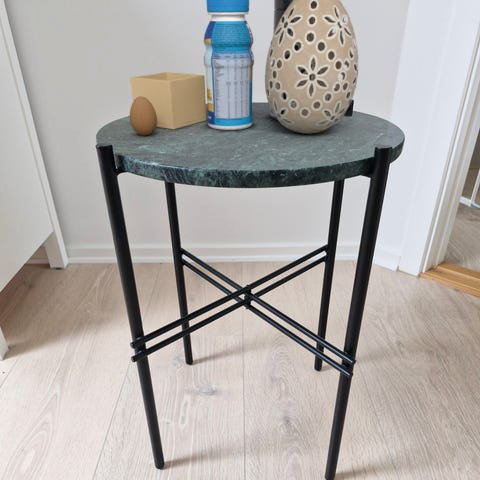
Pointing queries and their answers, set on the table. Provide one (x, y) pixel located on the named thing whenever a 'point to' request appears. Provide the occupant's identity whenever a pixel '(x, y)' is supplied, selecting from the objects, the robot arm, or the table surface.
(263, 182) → the table surface
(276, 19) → the robot arm
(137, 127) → the egg
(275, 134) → the table surface
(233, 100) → the beverage bottle
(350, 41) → the ornament
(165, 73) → the open box
